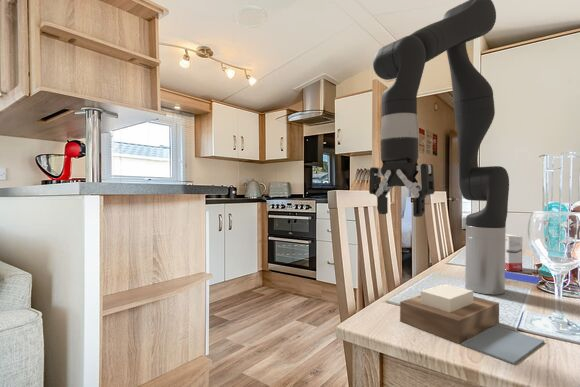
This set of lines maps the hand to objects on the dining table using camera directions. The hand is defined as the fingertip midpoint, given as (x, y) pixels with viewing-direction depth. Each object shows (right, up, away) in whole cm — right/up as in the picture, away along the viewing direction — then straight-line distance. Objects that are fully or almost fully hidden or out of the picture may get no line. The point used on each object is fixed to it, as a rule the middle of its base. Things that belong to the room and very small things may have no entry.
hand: (399, 215), depth 70 cm
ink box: (+52, -22, +45) cm, 72 cm away
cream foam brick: (+9, -18, -3) cm, 20 cm away
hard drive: (+46, -22, +31) cm, 60 cm away
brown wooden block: (+9, -22, -2) cm, 24 cm away
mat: (+14, -22, -12) cm, 29 cm away
